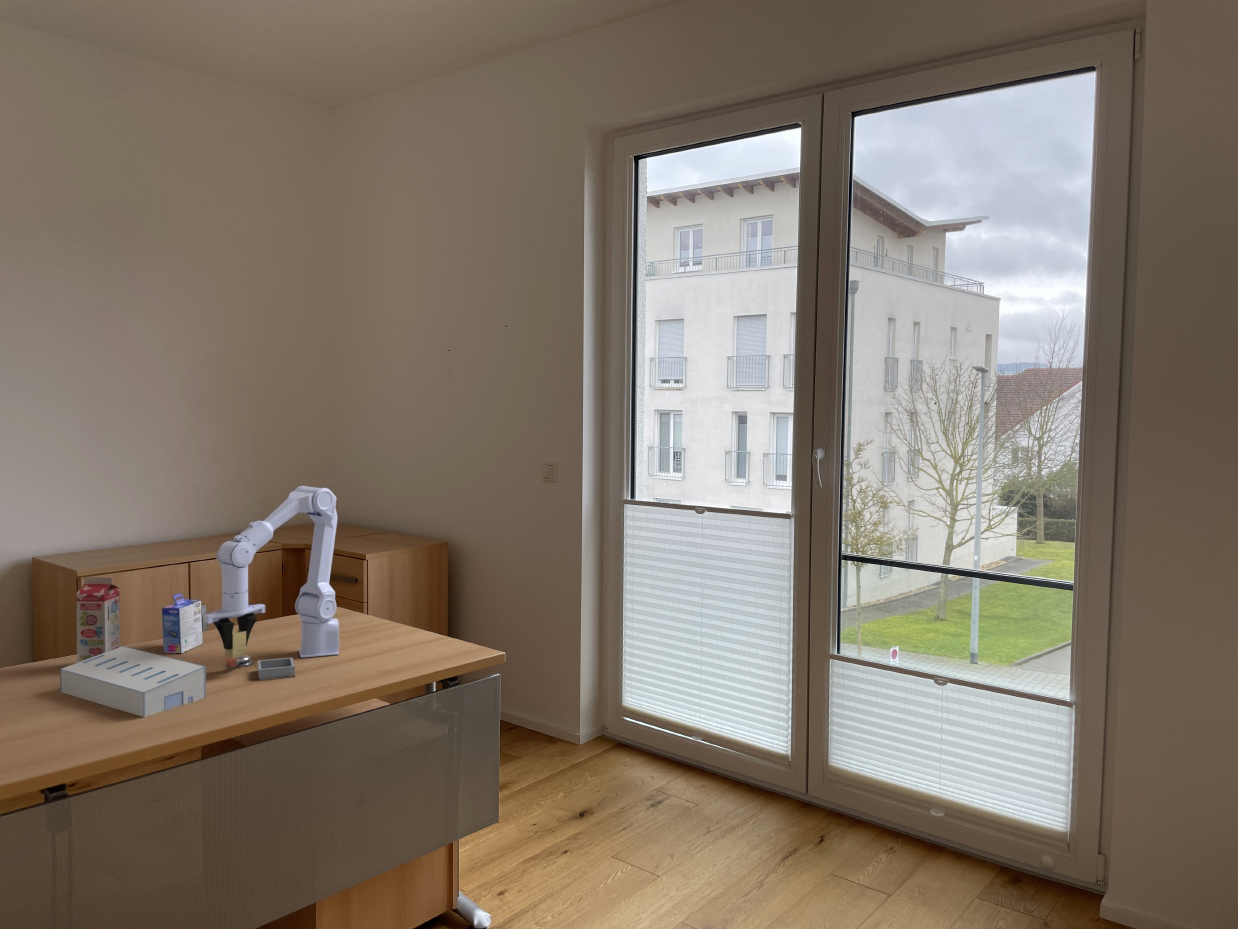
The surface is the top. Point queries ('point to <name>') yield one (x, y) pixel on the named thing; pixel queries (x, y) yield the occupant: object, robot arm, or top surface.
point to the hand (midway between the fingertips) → (235, 647)
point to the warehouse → (135, 681)
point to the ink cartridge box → (182, 625)
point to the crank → (236, 661)
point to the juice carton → (97, 617)
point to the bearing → (245, 663)
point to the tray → (276, 668)
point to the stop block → (237, 644)
